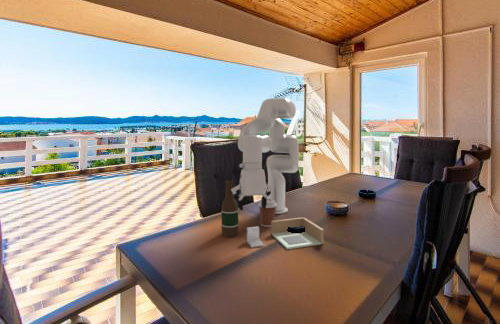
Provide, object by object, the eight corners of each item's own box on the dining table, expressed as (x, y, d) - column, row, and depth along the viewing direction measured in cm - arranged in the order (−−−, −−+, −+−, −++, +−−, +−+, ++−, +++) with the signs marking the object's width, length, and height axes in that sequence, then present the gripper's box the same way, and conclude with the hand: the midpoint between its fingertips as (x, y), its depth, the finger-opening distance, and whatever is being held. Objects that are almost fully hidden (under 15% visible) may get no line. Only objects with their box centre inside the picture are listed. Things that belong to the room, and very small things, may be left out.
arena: (271, 234, 118) (271, 221, 117) (303, 229, 122) (303, 217, 122) (287, 249, 102) (287, 234, 102) (323, 243, 107) (323, 229, 107)
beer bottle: (241, 231, 120) (241, 179, 118) (235, 238, 113) (234, 182, 110) (225, 229, 123) (224, 178, 120) (218, 236, 116) (217, 181, 113)
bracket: (246, 241, 110) (246, 227, 109) (258, 240, 111) (258, 226, 111) (251, 247, 104) (251, 233, 104) (263, 246, 106) (263, 231, 105)
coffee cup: (254, 224, 130) (254, 200, 128) (266, 219, 136) (266, 196, 135) (268, 229, 123) (268, 203, 122) (280, 224, 130) (280, 200, 128)
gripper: (233, 168, 100) (234, 213, 102) (276, 166, 105) (275, 209, 107) (229, 166, 107) (229, 207, 109) (269, 164, 113) (268, 204, 114)
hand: (252, 208), depth 108 cm, fingers open, 9 cm apart
